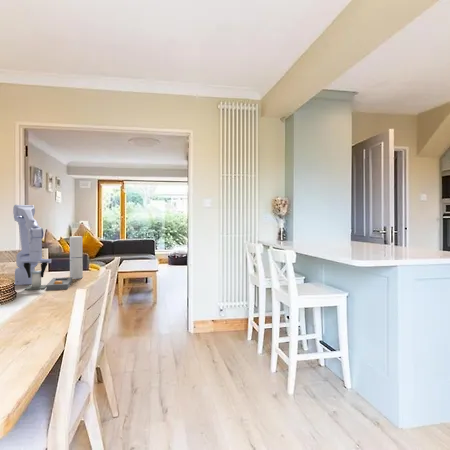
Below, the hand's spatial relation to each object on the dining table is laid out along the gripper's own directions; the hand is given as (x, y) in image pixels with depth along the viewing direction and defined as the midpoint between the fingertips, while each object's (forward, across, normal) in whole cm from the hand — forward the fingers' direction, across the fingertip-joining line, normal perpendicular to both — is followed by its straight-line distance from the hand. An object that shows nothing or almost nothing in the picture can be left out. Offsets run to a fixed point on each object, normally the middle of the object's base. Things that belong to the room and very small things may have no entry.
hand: (35, 277), depth 188 cm
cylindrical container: (+6, +17, +27) cm, 32 cm away
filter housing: (+6, +11, +4) cm, 13 cm away
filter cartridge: (+5, 0, 0) cm, 5 cm away
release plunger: (+5, +11, -3) cm, 12 cm away
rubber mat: (+6, 0, 0) cm, 6 cm away
